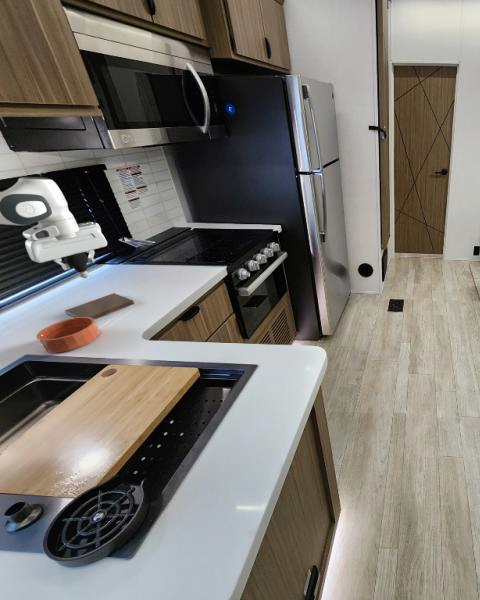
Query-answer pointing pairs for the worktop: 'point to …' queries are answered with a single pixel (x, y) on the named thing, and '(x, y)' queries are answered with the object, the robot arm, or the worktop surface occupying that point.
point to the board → (100, 306)
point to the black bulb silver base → (78, 263)
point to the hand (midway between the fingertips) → (79, 265)
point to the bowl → (68, 334)
